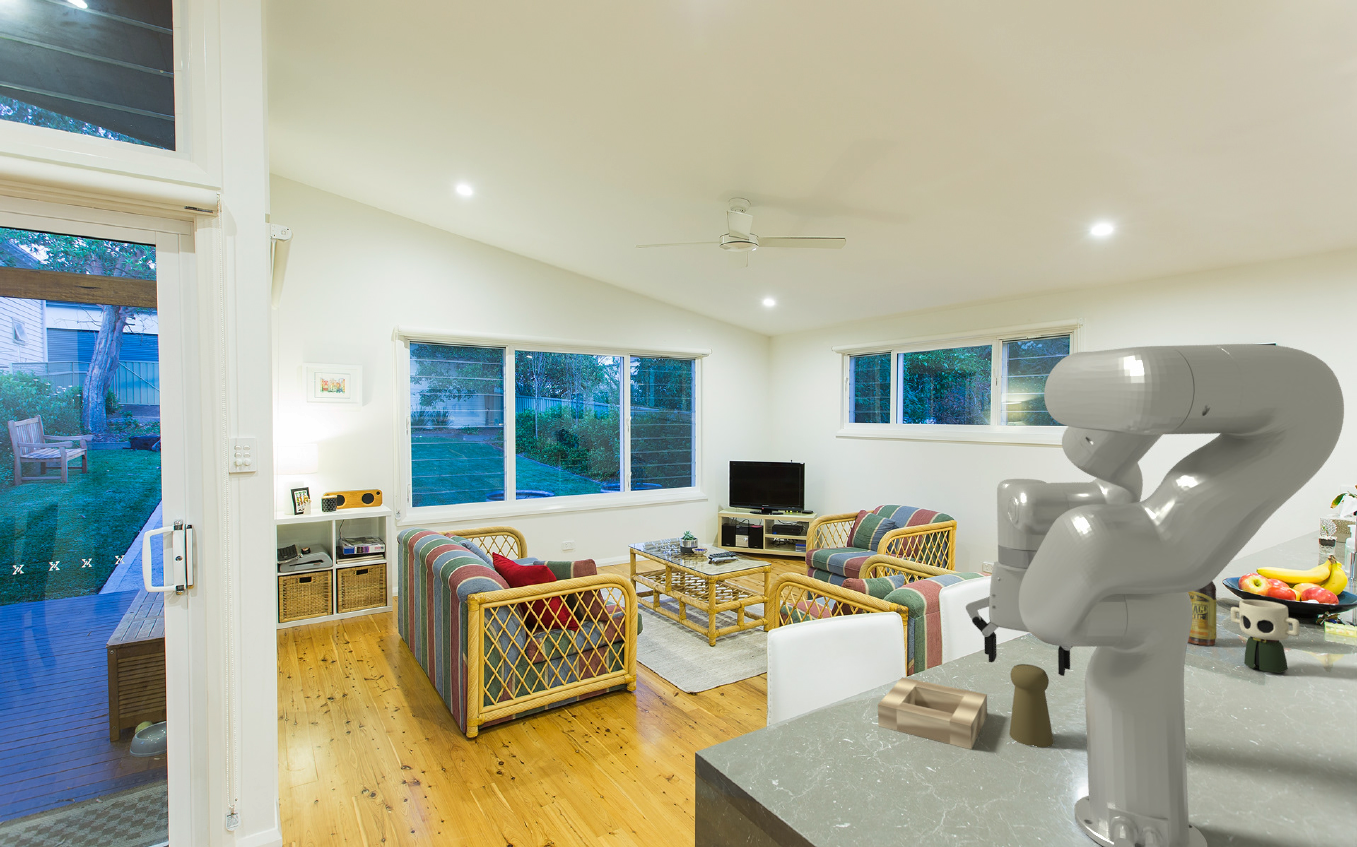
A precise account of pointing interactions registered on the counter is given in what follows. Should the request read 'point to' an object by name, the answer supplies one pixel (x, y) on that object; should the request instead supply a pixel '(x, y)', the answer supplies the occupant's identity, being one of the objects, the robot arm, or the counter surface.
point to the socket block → (934, 712)
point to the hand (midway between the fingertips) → (1026, 665)
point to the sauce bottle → (1203, 615)
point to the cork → (1030, 707)
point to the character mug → (1265, 633)
